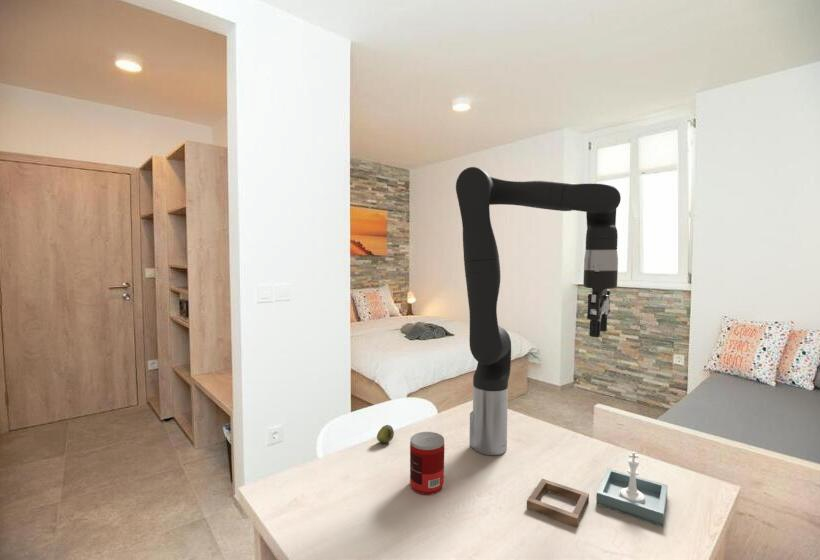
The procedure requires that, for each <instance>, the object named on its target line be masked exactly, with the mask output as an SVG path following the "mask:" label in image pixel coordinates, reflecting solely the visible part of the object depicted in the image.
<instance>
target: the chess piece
mask: <svg viewBox="0 0 820 560" xmlns="http://www.w3.org/2000/svg"><path fill="white" fill-rule="evenodd" d="M628 458H629V459H628V461H627V462H628V466H629V469H627V471H626V473H627V474H630V480H629V485H628V487H627V488H622V489H621V490H620V493H619V495H620V497H621V498H624V499H627V500H630V501H633V502H637V503H640V504H643V503H645V496H644V495H643V493H641V492H640V491H638V490H637V487H636V476H639V474H640V473H639V471H638V470H637V468H638V466H639V464H640V463H639V460H637V459H639V455H638V454H636V452H635V451H632V452H631V454H628Z"/></svg>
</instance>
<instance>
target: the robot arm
mask: <svg viewBox="0 0 820 560" xmlns="http://www.w3.org/2000/svg"><path fill="white" fill-rule="evenodd" d="M455 192H456V198H457V201H458V207H459V212H460V218H461V224H462V225H461V226H462V249H463V262H464V263H463V264H464V274H465V285H466V291H467V293H466V294H467V301H468V302H467V303H468V311H469V348H470V349H469V350H470V353H471V355H472V357H473V358H474V359H475V360H476V361H477V364H476V365H477V366H476V369H475V371H474V373H473V379H472V411H471V412H470V413H469V448H472V449H474V450H475V451H476V452H477V453H479V454H482V455H487V456H499V455H503V454H505V453H506V452H507V450H508V449H507V448H508V404H509V403H508V401H509V400H508V399H509V398H508V395H509V392H508V391H509V390H508V389H509V380H510V375H511V368H512V367H511V366H512V364H511V363H512V362H511V361H512V341H511V340H512V339H511V337H510V335H509V333H508V332H507V330H506V329H504V328H503V327H501V326H499V322H498V313H497V311H498V310H497V305H498V298H499V293H500V287H501V264H500V263H501V262H500V256H499V250H498V249H499V248H498V244H497V241H496V238H495V237H496V236H495V234H494V229H493V226H492V221H491V215H490V206H491V205H492V206H493V205H494V206H495V205H505V206H507V205H511V206H518V207H519V206H521V207H526V208H528V207H529V208H536V209H540V210H541V209H543V210H550V211H558V212H559V211H560V212H572V211H577V212H585V213H586V217H585V218H586V234H585V253H584V258H583V284H582V285H583V287H584V288H586V289H587V288H588V289H592V290H591V291H592V292H591V293H589V294H587V314H586V318H587V320H588V321H589V337H592V338H600V337H601V332H605V333H606V332H607V330H608V317H609V315H610V312H611V290H612V289H613V290H614V289H616V288H617V287H618V275H619V274H618V271H619V270H618V269H619V256H618V228H617V227H616V226H617V225H616V224H617V209H618V207H619V206H620V204H621V192H620V191H619V190H618V189H617V188H616V187H615V186H614V185H611V184H606V183H593V182H592V183H572V182H567V181H566V182H565V181H555V180H554V181H553V180H528V181H516V180H515V181H513V180H507V179H505V180H504V179H500V178H497V177H493V176H489V174H488V173H487V172H486V171H485V170H483V169H481V168H480V167H477V166H469V167H467V168H465V169H463V170H462V171H461V172H460V173H459V174H458V177H457V178H456V181H455Z"/></svg>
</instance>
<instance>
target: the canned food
mask: <svg viewBox="0 0 820 560" xmlns="http://www.w3.org/2000/svg"><path fill="white" fill-rule="evenodd" d="M409 443H410V444H409V477H410V478H409V482H410V486H411V489H412V490H413V491H414V492H416V493H418V494H420V495H425V496H426V495H427V496H428V495H434V494H437V493H438V492H441V491H442V489H443V487H444V483H445V438H444V436H443V435H442V434H441V433H438V432H435V431H422V432H417V433H415V434H413V435H411V436H410V441H409Z"/></svg>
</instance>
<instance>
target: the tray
mask: <svg viewBox="0 0 820 560" xmlns="http://www.w3.org/2000/svg"><path fill="white" fill-rule="evenodd" d="M635 476H636V487H637V490H638V491H640V492H641V493H643V495H644V496H645V503H643V504H640V503H637V502H633V501H630V500H627V499H624V498H621V497H620V495H619V493H620V490H621V489H622V488H627V487H628V485H629V480H630V474H629V473H628V472H623V471H619V470H616V469H612V468H609V467H607V468H606V471H605V472H604V475H603V477H602V480H601V481H600V484H599V487H598V489H597V491H596V503H595V504H596V505H598V506H600V507H604V508H606V509H609V510H612V511H616V512H619V513H622V514H625V515H626V516H631V517H632V518H633V517H634V518H636V519H639V520H642V521H645V522H648V523H651V524H654V525H657V526H660V527H664V521H665V514H666V508H667V507H666V505H667V499H668V487H669V486H668V484H666V483H662V482H658V481H654V480H651V479H648V478H644V477H641V476H638V475H635Z"/></svg>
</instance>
